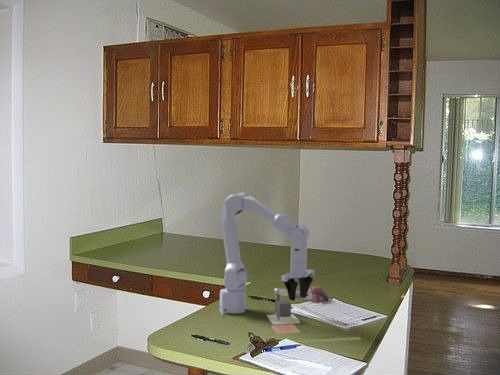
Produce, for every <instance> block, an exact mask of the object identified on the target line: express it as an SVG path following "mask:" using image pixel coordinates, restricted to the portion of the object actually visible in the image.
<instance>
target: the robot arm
mask: <svg viewBox="0 0 500 375" xmlns="http://www.w3.org/2000/svg"><path fill="white" fill-rule="evenodd" d="M244 211H245V212H250V211H251V212H254V213H256V214H257V215H259V216H260V217H262V218H263V219H266V220H267V221H269V222H271V225H272V228H274V230H277V231H278V232H280V233H281V234H282V235H284V236H286V237H287V238H288V239H289V241H290V260H289V261H290V262H289V263H290V265H289V266H290V268H289V270H290V271H289V272H287V273H284V274H282V275H281V282H282V283H283V284H284V286H285V289H287V291H288V295H289V296H288V299H289V300H290V301H296V298H295V296H296V291H297V288H298V284H299V291H300V297H303V298H306V295H307V292H308V289H309V288H310V286H311V284H312V283H313V280H314V278H313V277H314V276H315V270H313V269H308V267H307V266H308V238H309V237H310V230H309V229H308V228H307V227H306V226H305V225H304V224H300V223H299V222H298V221H296V222H295V221H294V220H292V219H291V218H289V215H288V214H286V213H285V214H283V213H276V212H274V211H273V210H272V209H270V207H269V208H268V207H267V206H266V205H264V204H263V203H262V202H260V201H258V200H257V199H256V198H255V197H254V196H252V195H249V194H248V193H246V192H244V191H243V192H238V193H233V194H230V195H228V196H227V198H225V200H224V201H223V206H222V209H221V212H220V216H219V218H220V225H221V233H222V239H223V240H222V241H223V246H224V253H225V260H226V266H225V268H224V277H223V285H224V287H225V288H222V289H220V291H219V312H220V314H221V316H223V317H225V314H242V313H243V314H244V313H245V312H246V299H247V298H246V297H247V296H246V295H247V292H246V291H247V289H246V283H247V282H248V281H249V274H248V272H247V270H246V267H245V264H244V263H243V261H242V258H241V251H240V244H239V237H238V230H237V223H236V219H237V218H238V216H239V215H240V214H241V213H242V212H244ZM296 279H297V280H298V281H296ZM289 300H288V301H289Z"/></svg>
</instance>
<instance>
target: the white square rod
mask: <svg viewBox="0 0 500 375" xmlns="http://www.w3.org/2000/svg"><path fill="white" fill-rule="evenodd" d="M274 295H275V296H276V295H280V296H281V297H282V296H283V297H289V295H288V291H287V288H280V287H275V288H274ZM295 299H303V300H309V301H310V300H311V299H312V293H307V295H306V298H303V297H300V290H296V296H295Z"/></svg>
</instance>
